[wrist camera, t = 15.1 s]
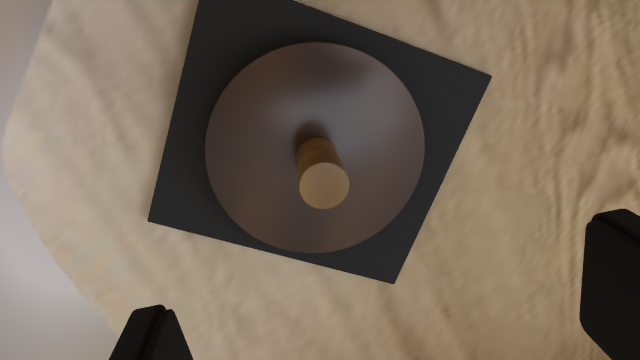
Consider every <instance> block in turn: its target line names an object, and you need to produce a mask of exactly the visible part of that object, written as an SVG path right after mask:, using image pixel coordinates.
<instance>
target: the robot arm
mask: <svg viewBox="0 0 640 360" xmlns="http://www.w3.org/2000/svg"><path fill="white" fill-rule="evenodd" d="M580 322H581V325H582V327H583V329H584V330H585V332H586V333H587V334H588V335H589V336H590V337H591V338H592V340H593V341H594V342H595V343H596V344H597V345H598V346H599V347H600V348H601V349H602V350H603V351H604V352H605V353H606V354H607V355H608V356H609V357H610V358H611V359H612V360H640V216H638V215H636V214H635V213H633V212H631V211H629V210H627V209H617V210H613V211H608V212H603V213H598V214H596V215H594V216H593V218H592V221H591V222H589V223H588V224H587V226H586V233H585V247H584V261H583V274H582V288H581V302H580ZM109 360H193V358H192V355H191V353H190V350H189V347H188V345H187V342H186V340H185V337H184V335H183V332H182V330H181V327H180V325H179V322H178V320H177V317H176V315H175V313H174V311H173V310H172V309H169V310H166V308H165V307H164V306H163V305H155V306H150V307H145V308H140V309H136V310H134V311H133V312H132V314H131V315H130V317H129V319H128V322H127V324H126V326H125V328H124V330H123V332H122V334H121V336H120V338H119V340H118V342H117V344H116V346H115V348H114V350H113V352H112V354H111V356H110V358H109Z"/></svg>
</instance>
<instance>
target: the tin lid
mask: <svg viewBox="0 0 640 360" xmlns="http://www.w3.org/2000/svg"><path fill="white" fill-rule="evenodd" d="M424 146H425V139H424V131H423V124H422V120H421V117H420V113H419V110H418V108H417V106H416V103H415V101H414V99H413V97H412V95H411V94H410V92H409V90H408V89H407V87H406V86H405V85H404V83H403V82H402V81H401V80H400V78H399V77H398V76H397V75H396V74H395V73H394V72H393V71H392V70H391V69H390V68H389V67H387V66H386V65H385V64H383V63H382V62H381V61H379V60H378V59H376V58H375V57H373V56H371V55H369V54H367V53H365V52H363V51H361V50H359V49H356V48H353V47H350V46H347V45H343V44H338V43H333V42H322V41H310V42H299V43H294V44H290V45H286V46H282V47H280V48H277V49H274V50H272V51H269V52H267V53H265V54H264V55H262V56H260V57H258V58H256V59H255V60H253V61H252V62H251V63H249V64H248V65H247V66H245V67H244V68H243V69H242V70H241V71H240V72H239V73H238V74H237V75H236V76H234V77H233V78H232V80H231V81H230V82H229V83H228V85H227V86H226V87H225V89H224V90H223V91H222V93H221V95H220V96H219V98H218V100H217V102H216V103H215V105H214V108H213V110H212V113H211V115H210V118H209V121H208V126H207V130H206V135H205V146H204V150H205V164H206V169H207V175H208V178H209V181H210V184H211V187H212V189H213V191H214V193H215V195H216V197H217V200H218V201H219V203H220V204H221V206H222V207H223V209H224V210H225V212H226V213H227V214H228V215H229V216H230V217H231V218H232V220H233V221H234V222H235V223H236V224H238V225H239V226H240V227H241V228H242V229H243V230H244V231H246V232H247V233H249V234H250V235H252V236H253V237H255V238H256V239H258V240H260V241H262V242H264V243H266V244H268V245H271V246H274V247H277V248H279V249H283V250H288V251H292V252H300V253H324V252H332V251H337V250H341V249H345V248H348V247H351V246H353V245H356V244H358V243H360V242H363V241H365V240H367V239H369V238H370V237H372V236H373V235H375V234H376V233H378V232H380V231H381V230H382V229H383V228H384V227H386V226H387V225H388V224H389V223H390V222H391V221H392V220H393V219H394V218H395V217H396V216H397V215H398V214H399V213H400V212H401V210H402V209H403V208H404V206H405V205H406V204H407V202H408V200H409V199H410V197H411V195H412V194H413V192H414V189H415V187H416V185H417V182H418V180H419V177H420V173H421V170H422V166H423V159H424Z"/></svg>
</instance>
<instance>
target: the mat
mask: <svg viewBox="0 0 640 360" xmlns="http://www.w3.org/2000/svg"><path fill="white" fill-rule="evenodd" d="M310 41H322V42H333V43H338V44H343V45H347V46H350V47H353V48H356V49H359V50H361V51H363V52H365V53H367V54H369V55H371V56H373V57H375V58H376V59H378V60H379V61H381V62H382V63H383V64H385V65H386V66H387V67H389V68H390V69H391V70H392V71H393V72H394V73H395V74H396V75H397V76H398V77H399V78H400V80H401V81H402V82H403V83H404V85H405V86H406V87H407V89H408V90H409V92H410V94H411V95H412V97H413V99H414V101H415V103H416V106H417V108H418V110H419V113H420V117H421V120H422V124H423V131H424V139H425V146H424V159H423V166H422V170H421V173H420V177H419V180H418V182H417V185H416V187H415V189H414V192H413V194H412V195H411V197H410V199H409V200H408V202H407V204H406V205H405V206H404V208H403V209H402V210H401V212H400V213H399V214H398V215H397V216H396V217H395V218H394V219H393V220H392V221H391V222H390V223H389V224H388V225H387V226H386V227H384V228H383V229H382V230H381V231H380V232H378V233H376V234H375V235H373V236H372V237H370V238H369V239H367V240H365V241H363V242H360V243H358V244H356V245H353V246H351V247H348V248H345V249H341V250H337V251H332V252H324V253H300V252H292V251H288V250H283V249H279V248H277V247H274V246H271V245H268V244H266V243H264V242H262V241H260V240H258V239H256V238H255V237H253V236H252V235H250V234H249V233H247V232H246V231H244V230H243V229H242V228H241V227H240V226H239V225H238V224H236V223H235V222H234V221H233V220H232V218H231V217H230V216H229V215H228V214H227V213H226V212H225V210H224V209H223V207H222V206H221V204H220V203H219V201H218V200H217V197H216V195H215V193H214V191H213V189H212V187H211V184H210V181H209V178H208V175H207V169H206V164H205V150H204V146H205V135H206V130H207V126H208V121H209V118H210V115H211V113H212V110H213V108H214V105H215V103H216V102H217V100H218V98H219V96H220V95H221V93H222V91H223V90H224V89H225V87H226V86H227V85H228V83H229V82H230V81H231V80H232V78H233V77H234V76H236V75H237V74H238V73H239V72H240V71H241V70H242V69H243V68H244V67H245V66H247V65H248V64H249V63H251V62H252V61H253V60H255V59H256V58H258V57H260V56H262V55H264V54H265V53H267V52H269V51H272V50H274V49H277V48H280V47H282V46H286V45H290V44H294V43H299V42H310ZM491 78H492V76H490V75H488V74H485V73H483V72H480V71H477V70H475V69H472V68H469V67H467V66H464V65H462V64H459V63H456V62H454V61H451V60H448V59H446V58H443V57H440V56H438V55H435V54H433V53H430V52H427V51H425V50H422V49H419V48H417V47H414V46H412V45H409V44H406V43H404V42H401V41H398V40H396V39H393V38H391V37H388V36H385V35H383V34H380V33H377V32H375V31H372V30H370V29H367V28H364V27H362V26H359V25H356V24H354V23H351V22H348V21H346V20H343V19H341V18H338V17H335V16H333V15H330V14H327V13H325V12H322V11H320V10H317V9H314V8H312V7H309V6H306V5H304V4H301V3H299V2H296V1H293V0H199V3H198V7H197V12H196V16H195V20H194V24H193V29H192V33H191V37H190V42H189V46H188V50H187V54H186V59H185V63H184V67H183V72H182V76H181V80H180V84H179V89H178V93H177V97H176V102H175V106H174V110H173V114H172V119H171V123H170V127H169V131H168V136H167V140H166V144H165V149H164V153H163V157H162V161H161V166H160V170H159V174H158V179H157V183H156V187H155V191H154V196H153V200H152V204H151V209H150V213H149V217H148V222H152V223H156V224H160V225H164V226H168V227H172V228H176V229H179V230H183V231H187V232H191V233H195V234H199V235H203V236H207V237H211V238H215V239H219V240H223V241H226V242H230V243H234V244H238V245H242V246H246V247H250V248H254V249H258V250H262V251H266V252H270V253H274V254H277V255H281V256H285V257H289V258H293V259H297V260H301V261H305V262H309V263H313V264H317V265H321V266H324V267H328V268H332V269H336V270H340V271H344V272H348V273H352V274H356V275H360V276H364V277H368V278H371V279H375V280H379V281H383V282H387V283H391V284H394V283H395V281H396V279H397V277H398V275H399V273H400V271H401V268H402V266H403V264H404V262H405V260H406V258H407V256H408V254H409V251H410V249H411V247H412V245H413V243H414V241H415V239H416V237H417V234H418V232H419V230H420V228H421V226H422V224H423V222H424V220H425V218H426V215H427V213H428V211H429V209H430V207H431V205H432V203H433V201H434V198H435V196H436V194H437V192H438V190H439V188H440V186H441V184H442V181H443V179H444V177H445V175H446V173H447V171H448V169H449V167H450V165H451V162H452V160H453V158H454V156H455V154H456V152H457V150H458V148H459V145H460V143H461V141H462V139H463V137H464V135H465V133H466V131H467V129H468V126H469V124H470V122H471V120H472V118H473V116H474V114H475V112H476V109H477V107H478V105H479V103H480V101H481V99H482V97H483V95H484V92H485V90H486V88H487V86H488V84H489V82H490V80H491Z"/></svg>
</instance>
